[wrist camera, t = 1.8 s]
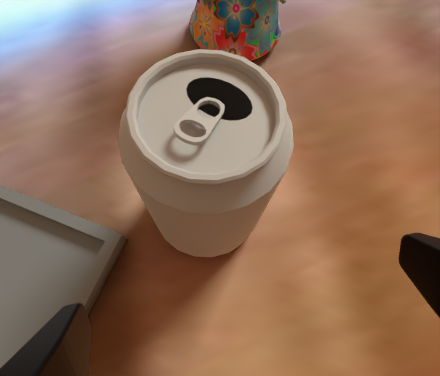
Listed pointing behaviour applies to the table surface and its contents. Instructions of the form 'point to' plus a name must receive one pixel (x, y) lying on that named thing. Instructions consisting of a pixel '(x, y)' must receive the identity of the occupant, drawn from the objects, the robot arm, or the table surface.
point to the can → (205, 147)
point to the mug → (236, 26)
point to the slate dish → (47, 265)
